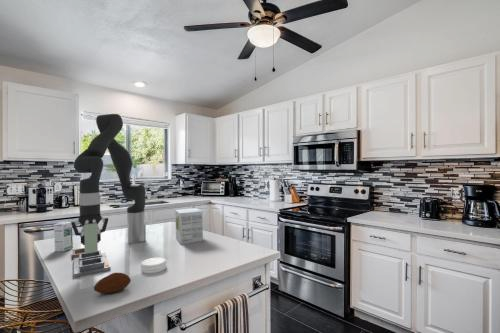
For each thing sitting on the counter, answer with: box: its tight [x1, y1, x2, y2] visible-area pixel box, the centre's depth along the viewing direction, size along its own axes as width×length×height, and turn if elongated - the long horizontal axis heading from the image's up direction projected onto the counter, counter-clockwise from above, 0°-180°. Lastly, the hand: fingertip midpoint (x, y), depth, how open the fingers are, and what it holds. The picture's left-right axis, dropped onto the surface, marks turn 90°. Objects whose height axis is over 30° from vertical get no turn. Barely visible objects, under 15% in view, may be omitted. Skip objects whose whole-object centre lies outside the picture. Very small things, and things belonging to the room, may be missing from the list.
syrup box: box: [53, 221, 74, 252], centre depth 143 cm, size 6×6×14 cm
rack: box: [73, 250, 112, 278], centre depth 119 cm, size 13×22×4 cm, turn 33°
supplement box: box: [174, 207, 204, 245], centre depth 157 cm, size 13×13×18 cm
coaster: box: [140, 256, 167, 274], centre depth 114 cm, size 10×10×4 cm
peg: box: [83, 223, 99, 254], centre depth 114 cm, size 5×5×12 cm
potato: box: [93, 272, 132, 295], centre depth 94 cm, size 6×12×6 cm, turn 123°
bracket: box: [72, 247, 85, 260], centre depth 134 cm, size 9×10×2 cm
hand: (90, 243), depth 114 cm, fingers closed on peg, 4 cm apart
